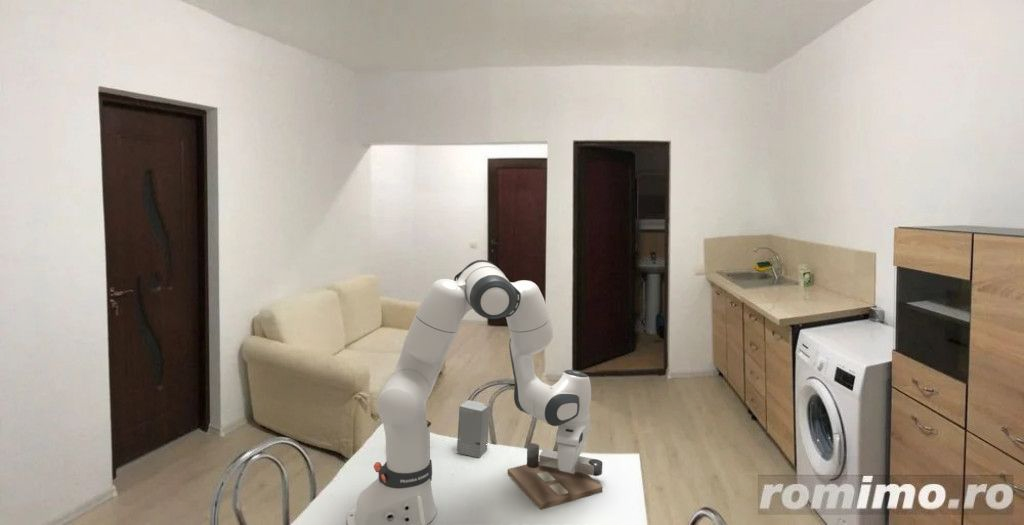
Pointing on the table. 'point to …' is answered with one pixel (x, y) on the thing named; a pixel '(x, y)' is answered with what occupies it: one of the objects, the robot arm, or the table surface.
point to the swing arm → (583, 463)
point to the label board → (551, 482)
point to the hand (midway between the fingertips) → (572, 471)
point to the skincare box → (473, 428)
